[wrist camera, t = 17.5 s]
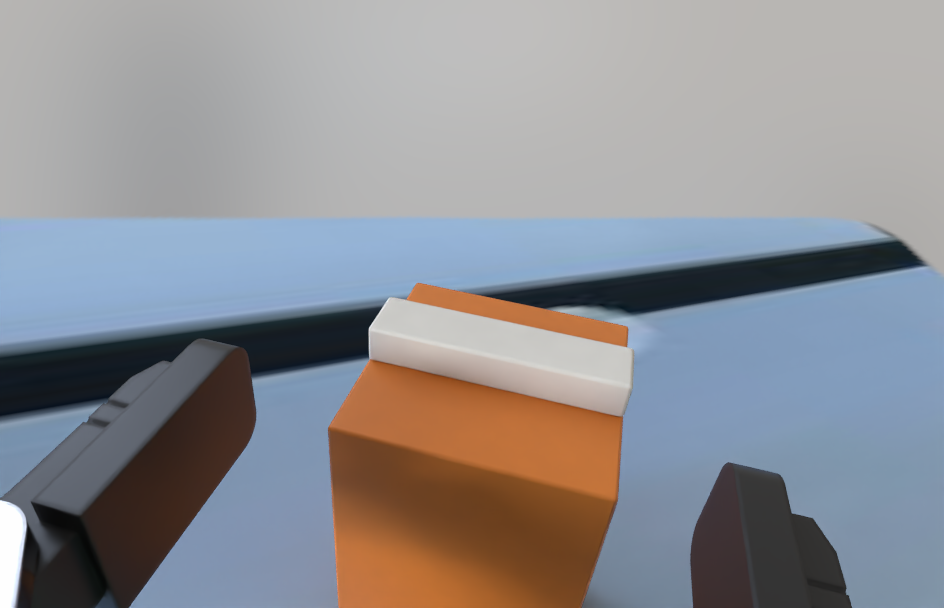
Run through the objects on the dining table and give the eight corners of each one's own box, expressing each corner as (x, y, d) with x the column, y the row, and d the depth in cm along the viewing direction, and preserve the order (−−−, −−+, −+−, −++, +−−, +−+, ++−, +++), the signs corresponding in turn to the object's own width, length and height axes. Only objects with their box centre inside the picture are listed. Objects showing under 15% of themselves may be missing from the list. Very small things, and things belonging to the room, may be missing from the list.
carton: (342, 684, 16) (323, 393, 10) (405, 524, 20) (417, 251, 14) (535, 746, 15) (630, 466, 10) (560, 565, 19) (637, 296, 14)
